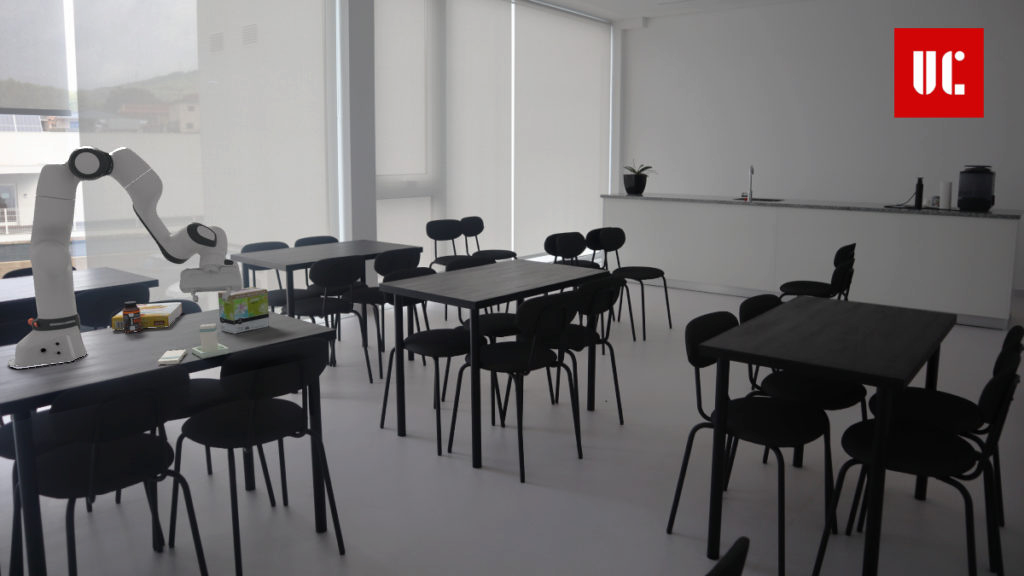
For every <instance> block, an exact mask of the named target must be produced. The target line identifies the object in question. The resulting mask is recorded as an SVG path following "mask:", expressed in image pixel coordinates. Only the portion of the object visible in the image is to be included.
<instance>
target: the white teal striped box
mask: <svg viewBox="0 0 1024 576" xmlns="http://www.w3.org/2000/svg"><path fill="white" fill-rule="evenodd" d="M217 328H218V327H217V323H207V324H201V325H200V326H199V336H200V346H201V348H202V352H207V351H212V350H217V349H218V343H219V342H218V340H219V339H218V332H217Z"/></svg>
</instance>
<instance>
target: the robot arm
mask: <svg viewBox="0 0 1024 576" xmlns="http://www.w3.org/2000/svg"><path fill="white" fill-rule="evenodd" d="M39 173H40V174H39V177H38V180H37V185H36V188H35V189H36V190H35V198H34V199H35V201H34V209H33V210H34V211H33V221H32V226H31V233H30V241H29V242H30V243H29V250H28V251H29V252H28V257H29V261H30V264H31V271H32V276H33V278H32V279H33V288H34V295H35V296H34V297H35V303H36V305H35V306H36V310H37V311H36V312H37V317H36V318H35V319H34V318H32V317H31V318H29V319H28V320H27V323H28V325H30V326H31V327H32V330H31V331H29V333H28V334H27V335H26V336H25V337H23V338H22V339H20V341H19V342H18V343H17V344H16V347H15V349H14V350H15V351H14V357H12V358H11V359H9V360H8V361H7V365H8V364H9V365H11V366H14V367H27V366H34V365H41V364H51V363H59V362H68V361H73V360H75V359H76V358H79V357H82V356H84V355H86V354H87V352H88V351H87V349H86V347H85V344H84V340H83V338H82V334H81V327H82V326H81V318H80V315H79V313H78V311H77V304H76V295H75V285H74V283H75V282H74V271H73V263H72V262H73V261H72V255H71V252H70V251H69V250H70V245H71V244H70V242H71V236H72V231H73V226H74V217H75V208H76V198H77V189H78V187H79V186H78V185H79V184H80V182H83V181H87V182H91V181H97V180H100V179H101V178H103V177H104V178H105V177H106V176H107V177H108V176H109V177H111V178H113V179H114V180H115V181H116V182H117V183H118V184H119V185H120V186H121V187H122V188H123V189H124V191H125V192H127V193H126V194H128V195H129V197H130V200H131V202H132V210H133V211H134V213H135V215H136V217H137V218H138V219H139V221H140V223H141V224H142V225H143V227H144V228H145V230H147V232H148V233H149V235H150V236H151V238H152V239H153V241H154V242H155V243H156V245H157V246H158V248H159V250H160V253H161V254H162V256H163V258H164V259H165V260H167V261H168V262H170V263H172V264H175V265H182V264H184V263H186V262H187V261H188V260H190V258H192V257H193V256H195V255H196V254H197V255H199V266H198V267H195V268H194V267H193V268H185V269H183V270H182V271H181V270H180V275H179V277H180V280H179V285H178V287H179V289H180V291H181V293H183V294H189V293H190V295H191V296H192V301H193V303H198V302H199V296H198V295H197V294H196V293H210V292H211V293H212V292H225V291H226V293H225V294H222V299H223V301H227V299H228V296H229V295H230V294H231V291H236V290H241V289H243V288H244V287H243V284H244V283H243V277H242V274H241V270H240V265H239V264H238V261H237V260H233V259H230V258H227V253H228V249H229V248H228V247H229V245H228V237H227V234H226V231H225V230H224V229H223V228H221V227H219V226H216V225H210V226H207V225H205V224H203V223H201V222H197V221H192V222H190V223H188V224H186V225H185V226H184V227H182V228H181V229H179V230H178V231H176V232H175V233H174V234H173V233H171V232H170V230H169V229H168V228H167V226H166V225H165V223H164V222H163V221H162V220H161V218H160V217H159V215H158V212H157V206H158V203H159V201H160V199H161V197H162V195H163V190H164V187H163V186H164V184H163V180H162V179H161V178H160V175H158V174H157V172H156V171H155V170H154V168H152V167H151V166H150V164H148V163H147V162H146V161H145V159H143V158H142V157H141V156H139V155H138V154H137V153H136V152H134V151H133V150H132V149H131V148H128V147H119V148H116V149H114V150H113V151H111V152H107V151H103V150H102V149H101V150H100V149H99V148H98V147H95V146H92V145H82V146H79V147H77V148H75V149H74V150H73V151H72V152H70V155H69V158H68V160H67V161H66V162H49V163H46V164H44V165H43V167H42V168H41V171H40V172H39ZM87 355H88V354H87ZM87 355H86V356H87ZM84 357H85V356H84ZM82 358H83V357H82ZM79 359H80V358H79ZM12 360H14V361H12ZM75 361H76V360H75ZM16 365H18V366H16Z"/></svg>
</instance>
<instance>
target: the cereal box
mask: <svg viewBox="0 0 1024 576" xmlns="http://www.w3.org/2000/svg"><path fill="white" fill-rule="evenodd" d="M137 307H139V308H140V316H141V325H142V328H148V327H165V326H169V325H170V324H171V323H172V322H173V321H174V319H175V318H176V317H178V318H179V317H180V316H181V314H183V306H182V302H178V301H177V302H176V301H175V302H162V303H143V304H141V303H139V304H137ZM174 322H175V321H174ZM174 322H173V323H174ZM173 323H172V324H173ZM172 324H171V325H172ZM111 328H112V330H113V329H123V328H124V322H123V312H122V310H121V311H120V312H118V313H116V315H114V316H112V318H111Z"/></svg>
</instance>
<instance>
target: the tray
mask: <svg viewBox="0 0 1024 576" xmlns="http://www.w3.org/2000/svg"><path fill="white" fill-rule="evenodd" d="M192 353H193V354H192ZM191 354H192V355H194V354H195V355H194V356H196V357H198V356H199V357H198V358H200V359H207V358H212V357H217V356H222V355H228V354H230V348H229V347H228V346H226V345H223V344H222V343H219V342H218V349H217V350H212V351H207V352H202V348H201V345H200V346H196V347H191Z"/></svg>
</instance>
